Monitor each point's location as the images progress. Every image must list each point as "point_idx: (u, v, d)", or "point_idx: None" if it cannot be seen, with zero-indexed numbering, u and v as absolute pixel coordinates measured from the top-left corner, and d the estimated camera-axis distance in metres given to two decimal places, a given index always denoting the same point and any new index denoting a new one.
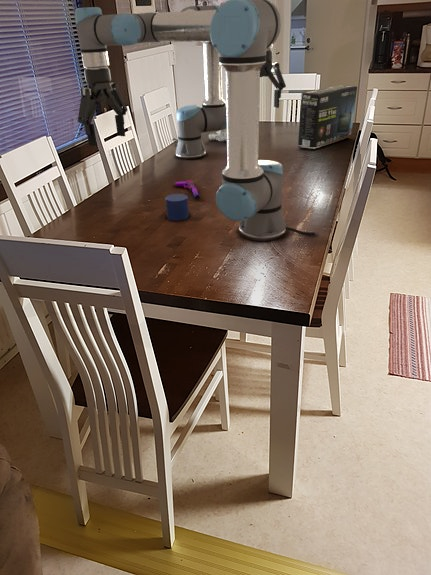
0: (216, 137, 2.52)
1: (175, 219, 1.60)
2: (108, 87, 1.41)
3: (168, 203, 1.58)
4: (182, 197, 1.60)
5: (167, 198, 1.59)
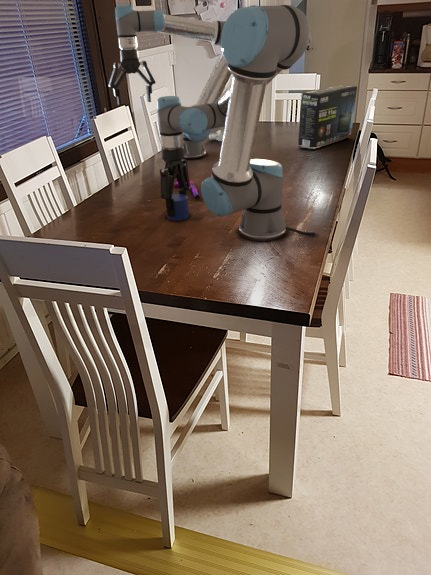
0: (216, 137, 2.52)
1: (175, 219, 1.60)
2: (180, 162, 1.56)
3: None
4: (182, 197, 1.60)
5: None
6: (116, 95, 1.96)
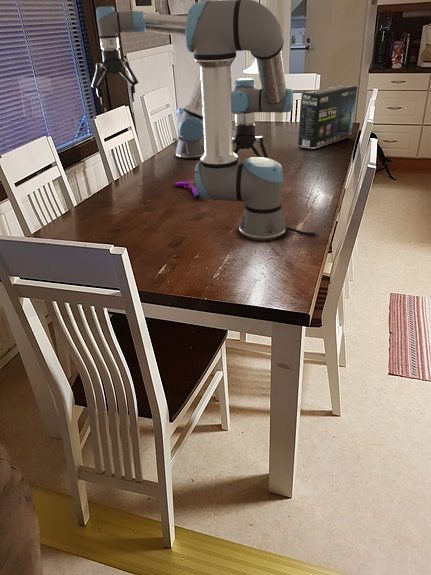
0: None
1: None
2: (252, 139, 1.75)
3: None
4: None
5: None
6: (99, 95, 1.99)
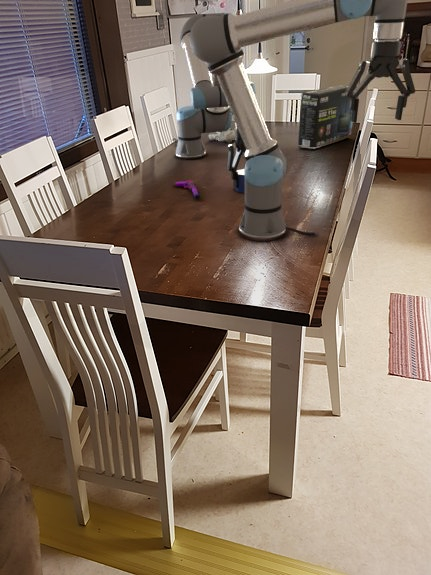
0: (216, 137, 2.52)
1: (236, 189, 1.85)
2: (394, 63, 1.29)
3: None
4: None
5: (238, 170, 1.84)
6: (234, 178, 1.81)
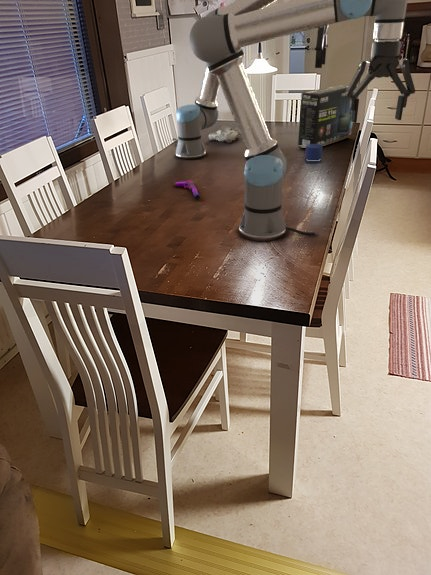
0: (216, 137, 2.52)
1: (312, 162, 2.13)
2: (394, 63, 1.29)
3: (308, 149, 2.12)
4: (318, 145, 2.13)
5: (307, 146, 2.13)
6: (320, 57, 1.87)
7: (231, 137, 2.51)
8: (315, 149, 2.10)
